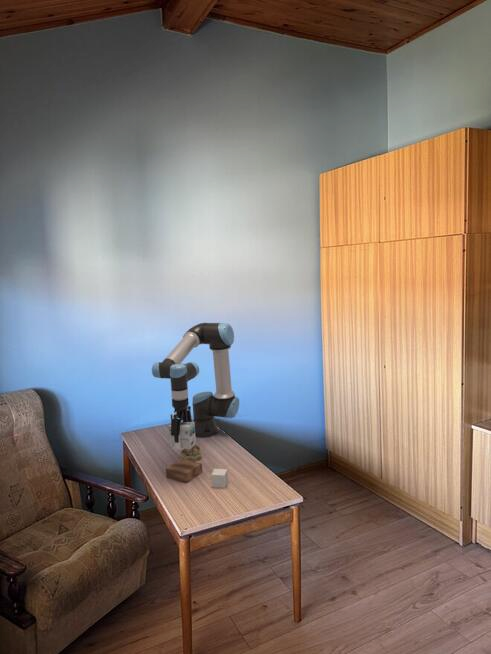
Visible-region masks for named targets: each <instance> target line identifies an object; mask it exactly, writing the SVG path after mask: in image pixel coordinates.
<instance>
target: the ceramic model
mask: <svg viewBox="0 0 491 654" xmlns="http://www.w3.org/2000/svg"><path fill="white" fill-rule="evenodd" d="M180 457H181V459H186V460H190V461H194V462H197V461H199V460H201V459H203V455H202V450H201V446H200V444H198V443H197V442H196V444H195V445H194V446H193V447H192V448H191V449H184V448H182V450H181V451H180Z"/></svg>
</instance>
